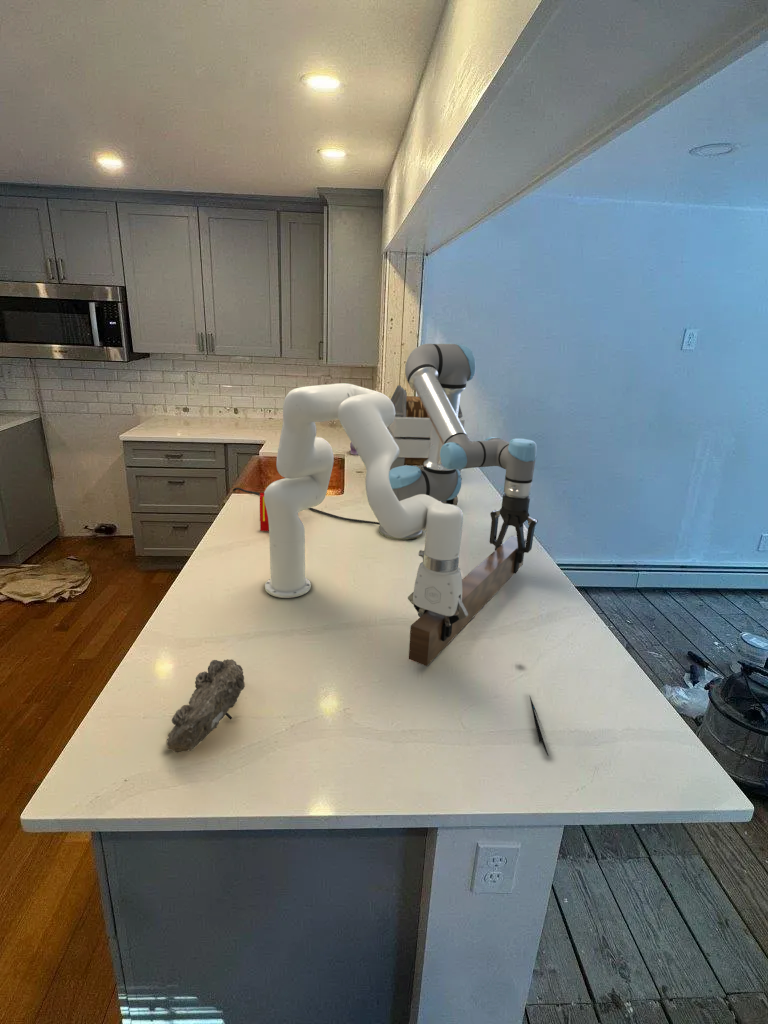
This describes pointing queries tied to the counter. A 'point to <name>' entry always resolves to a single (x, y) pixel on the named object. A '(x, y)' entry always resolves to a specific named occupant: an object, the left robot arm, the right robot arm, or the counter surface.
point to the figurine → (353, 449)
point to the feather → (538, 726)
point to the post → (464, 602)
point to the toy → (263, 514)
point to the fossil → (206, 705)
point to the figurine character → (451, 501)
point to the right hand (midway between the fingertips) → (507, 569)
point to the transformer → (411, 429)
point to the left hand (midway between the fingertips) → (434, 633)
